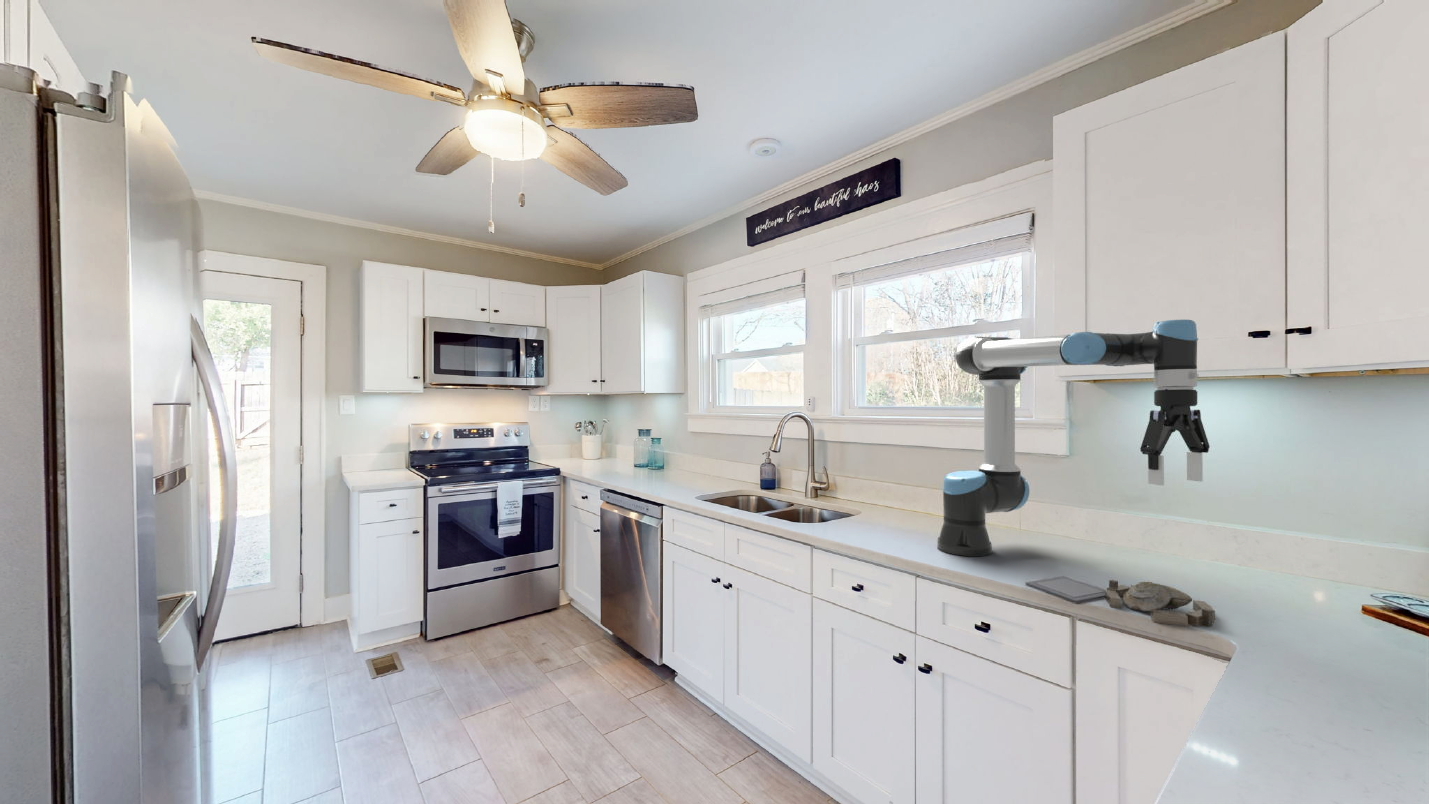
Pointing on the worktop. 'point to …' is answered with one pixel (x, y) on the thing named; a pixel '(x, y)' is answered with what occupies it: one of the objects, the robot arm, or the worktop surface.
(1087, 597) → the mat
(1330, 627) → the worktop surface
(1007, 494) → the robot arm
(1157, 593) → the fossilized seashell
